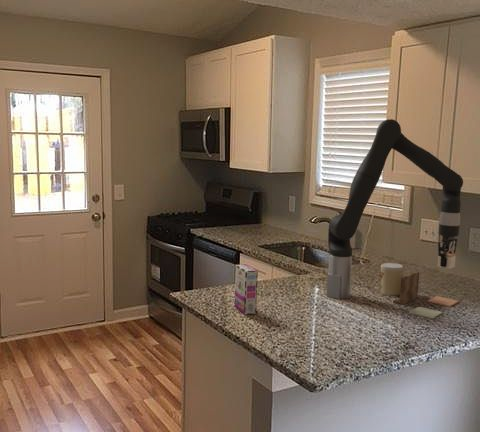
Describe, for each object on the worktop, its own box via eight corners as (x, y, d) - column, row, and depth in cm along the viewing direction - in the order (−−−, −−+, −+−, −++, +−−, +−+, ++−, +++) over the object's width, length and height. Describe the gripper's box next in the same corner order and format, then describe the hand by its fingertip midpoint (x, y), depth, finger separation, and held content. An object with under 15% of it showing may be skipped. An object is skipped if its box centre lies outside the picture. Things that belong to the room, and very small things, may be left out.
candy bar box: (257, 314, 190) (258, 270, 188) (244, 315, 188) (245, 271, 186) (246, 305, 200) (247, 263, 198) (233, 306, 199) (234, 264, 196)
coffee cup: (382, 288, 228) (384, 261, 226) (404, 292, 223) (406, 264, 221) (376, 293, 220) (377, 265, 218) (398, 297, 215) (400, 269, 213)
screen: (402, 304, 205) (404, 277, 204) (392, 302, 208) (394, 275, 206) (417, 297, 215) (419, 271, 214) (408, 295, 218) (410, 269, 217)
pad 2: (450, 306, 204) (450, 305, 204) (427, 301, 210) (427, 300, 210) (458, 302, 211) (458, 300, 211) (436, 297, 217) (436, 296, 217)
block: (450, 268, 205) (451, 256, 204) (437, 266, 208) (438, 254, 207) (454, 266, 208) (455, 254, 208) (442, 264, 212) (443, 252, 211)
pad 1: (432, 318, 190) (432, 317, 189) (409, 312, 196) (409, 311, 195) (442, 313, 196) (442, 312, 196) (419, 307, 202) (419, 306, 202)
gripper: (452, 226, 198) (448, 270, 200) (465, 222, 208) (462, 264, 211) (432, 224, 203) (429, 266, 205) (447, 220, 213) (443, 261, 216)
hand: (446, 265), depth 208 cm, fingers closed on block, 5 cm apart
